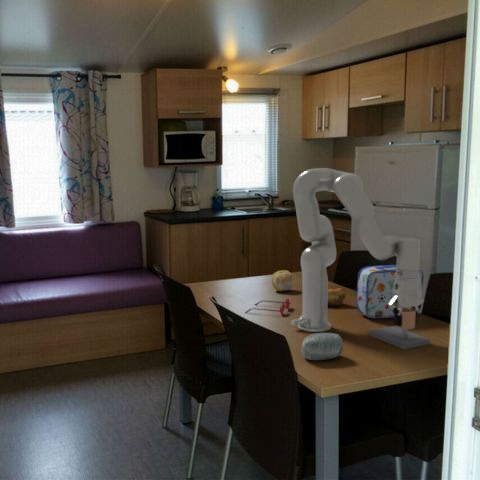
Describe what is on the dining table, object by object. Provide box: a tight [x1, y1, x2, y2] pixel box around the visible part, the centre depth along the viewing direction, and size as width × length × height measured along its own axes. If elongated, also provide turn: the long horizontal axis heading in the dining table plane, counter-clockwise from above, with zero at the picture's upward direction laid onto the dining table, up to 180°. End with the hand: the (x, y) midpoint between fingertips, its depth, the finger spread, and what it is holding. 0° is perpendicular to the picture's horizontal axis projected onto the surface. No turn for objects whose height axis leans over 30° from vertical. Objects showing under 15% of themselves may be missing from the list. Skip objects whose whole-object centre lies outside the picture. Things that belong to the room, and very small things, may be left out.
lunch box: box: [355, 264, 425, 319], centre depth 232 cm, size 28×10×22 cm, turn 106°
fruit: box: [271, 269, 295, 292], centre depth 274 cm, size 10×11×10 cm
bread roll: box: [328, 287, 347, 307], centre depth 250 cm, size 13×10×8 cm
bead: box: [395, 307, 416, 330], centre depth 200 cm, size 6×6×6 cm
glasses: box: [244, 298, 292, 315], centre depth 242 cm, size 14×16×5 cm
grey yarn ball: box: [301, 332, 344, 361], centre depth 186 cm, size 14×10×10 cm
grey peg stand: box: [368, 325, 431, 350], centre depth 203 cm, size 12×18×11 cm, turn 28°
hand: (405, 323), depth 201 cm, fingers closed on bead, 6 cm apart
